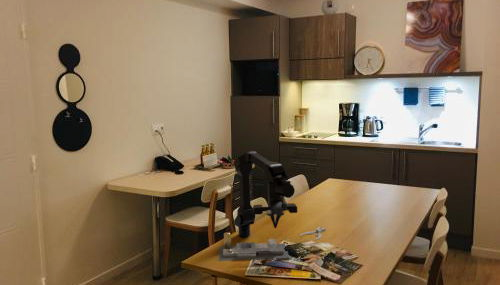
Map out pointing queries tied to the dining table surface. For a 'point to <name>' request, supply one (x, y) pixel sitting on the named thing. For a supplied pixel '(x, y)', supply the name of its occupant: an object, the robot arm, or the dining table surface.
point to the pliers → (315, 232)
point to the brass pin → (227, 240)
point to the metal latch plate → (256, 247)
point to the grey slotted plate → (247, 255)
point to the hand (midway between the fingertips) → (275, 227)
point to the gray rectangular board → (253, 257)
